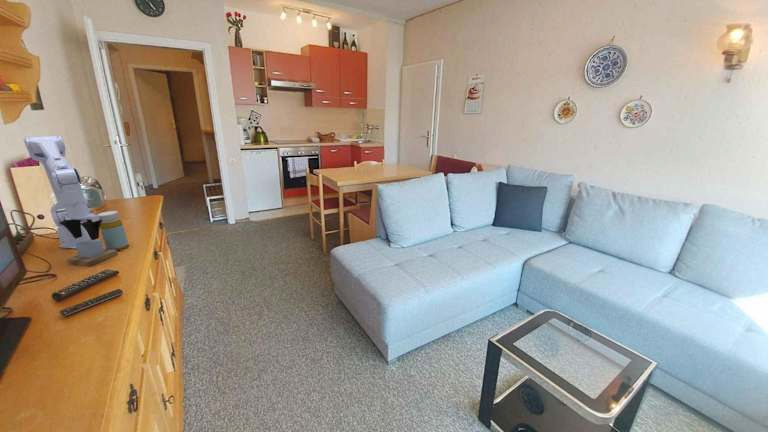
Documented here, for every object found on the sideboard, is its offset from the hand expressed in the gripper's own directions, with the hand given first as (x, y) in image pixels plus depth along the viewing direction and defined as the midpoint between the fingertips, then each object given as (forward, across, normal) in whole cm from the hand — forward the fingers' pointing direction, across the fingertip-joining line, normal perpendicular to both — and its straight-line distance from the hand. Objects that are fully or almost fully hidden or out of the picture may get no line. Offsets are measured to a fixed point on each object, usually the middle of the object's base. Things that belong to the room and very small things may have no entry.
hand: (86, 238), depth 115 cm
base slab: (+9, 0, 0) cm, 9 cm away
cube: (+7, 0, 0) cm, 7 cm away
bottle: (+9, -1, +10) cm, 13 cm away
